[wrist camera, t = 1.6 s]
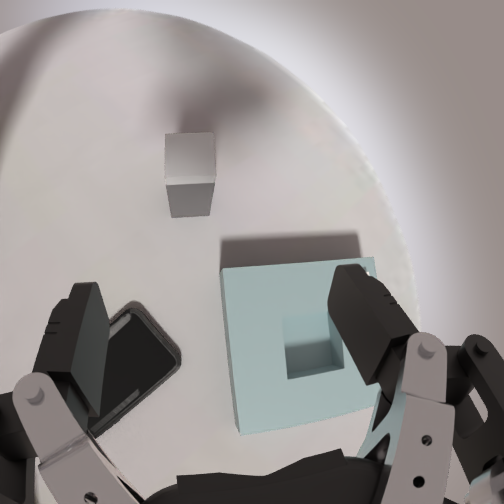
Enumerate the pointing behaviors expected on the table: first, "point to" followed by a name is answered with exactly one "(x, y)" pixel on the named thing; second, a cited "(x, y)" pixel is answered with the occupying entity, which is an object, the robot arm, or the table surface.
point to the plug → (190, 173)
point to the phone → (132, 368)
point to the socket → (288, 346)
